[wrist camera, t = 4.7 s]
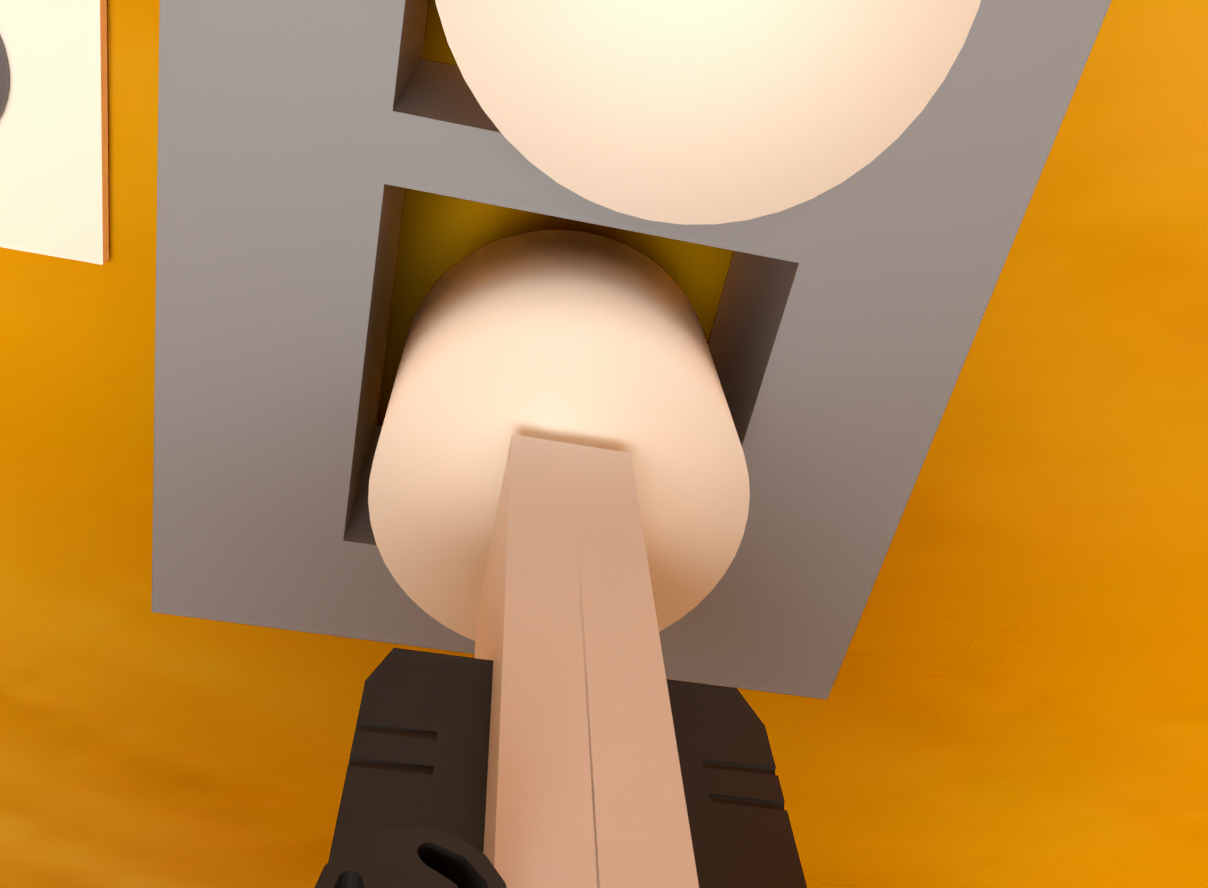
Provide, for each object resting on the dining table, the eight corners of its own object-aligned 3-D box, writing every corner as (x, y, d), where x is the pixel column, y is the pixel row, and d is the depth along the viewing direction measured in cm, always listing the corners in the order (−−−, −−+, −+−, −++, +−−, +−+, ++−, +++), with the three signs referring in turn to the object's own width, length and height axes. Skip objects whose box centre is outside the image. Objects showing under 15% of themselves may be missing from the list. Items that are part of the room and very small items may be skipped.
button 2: (399, 427, 20) (350, 631, 15) (435, 166, 18) (390, 300, 13) (658, 468, 21) (697, 677, 16) (724, 222, 19) (796, 371, 13)
